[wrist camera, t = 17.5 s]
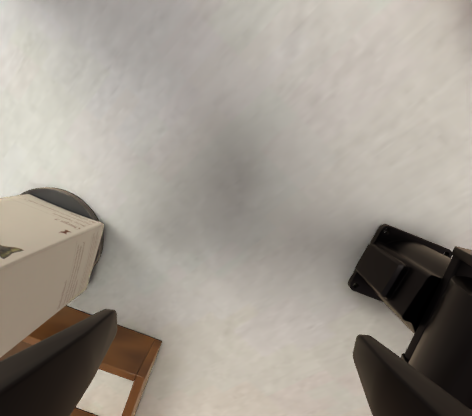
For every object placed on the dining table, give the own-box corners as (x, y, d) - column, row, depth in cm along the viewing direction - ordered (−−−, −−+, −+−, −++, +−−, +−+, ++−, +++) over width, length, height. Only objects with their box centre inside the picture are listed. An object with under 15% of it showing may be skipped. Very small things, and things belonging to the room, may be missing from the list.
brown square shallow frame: (162, 341, 23) (145, 378, 19) (128, 431, 26) (107, 479, 22) (36, 294, 22) (-9, 322, 19) (16, 392, 25) (-26, 434, 22)
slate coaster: (114, 208, 20) (109, 210, 20) (91, 291, 22) (87, 294, 21) (18, 172, 20) (11, 172, 19) (4, 258, 22) (-3, 261, 21)
